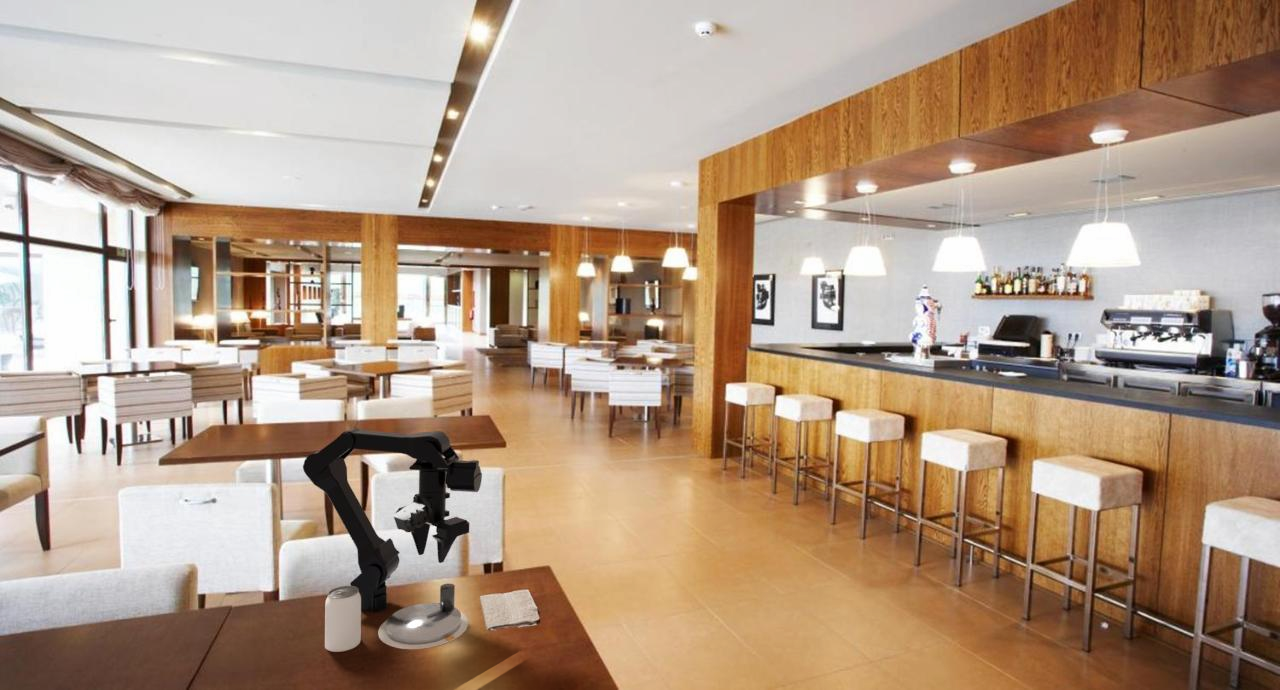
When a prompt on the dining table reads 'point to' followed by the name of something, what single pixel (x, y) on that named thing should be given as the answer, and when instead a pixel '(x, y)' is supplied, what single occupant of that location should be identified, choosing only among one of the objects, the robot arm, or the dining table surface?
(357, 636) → the can
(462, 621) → the dial base
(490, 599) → the washcloth
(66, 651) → the dining table surface
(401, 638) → the dial
